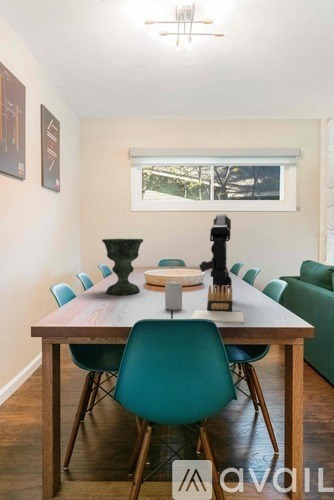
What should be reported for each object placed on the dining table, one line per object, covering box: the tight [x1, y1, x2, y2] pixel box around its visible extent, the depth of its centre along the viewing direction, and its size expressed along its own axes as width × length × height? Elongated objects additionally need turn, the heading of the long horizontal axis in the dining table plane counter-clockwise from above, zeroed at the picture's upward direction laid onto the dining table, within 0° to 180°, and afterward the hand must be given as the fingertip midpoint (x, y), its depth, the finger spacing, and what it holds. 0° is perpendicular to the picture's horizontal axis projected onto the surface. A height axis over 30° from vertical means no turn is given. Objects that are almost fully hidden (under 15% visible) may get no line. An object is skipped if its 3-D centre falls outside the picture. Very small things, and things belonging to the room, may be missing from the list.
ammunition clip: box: [206, 284, 233, 312], centre depth 141 cm, size 11×2×12 cm, turn 89°
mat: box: [190, 309, 245, 324], centre depth 133 cm, size 14×20×1 cm
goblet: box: [101, 238, 144, 296], centre depth 185 cm, size 22×23×30 cm
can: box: [164, 280, 183, 311], centre depth 147 cm, size 8×8×12 cm
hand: (219, 291), depth 142 cm, fingers closed
